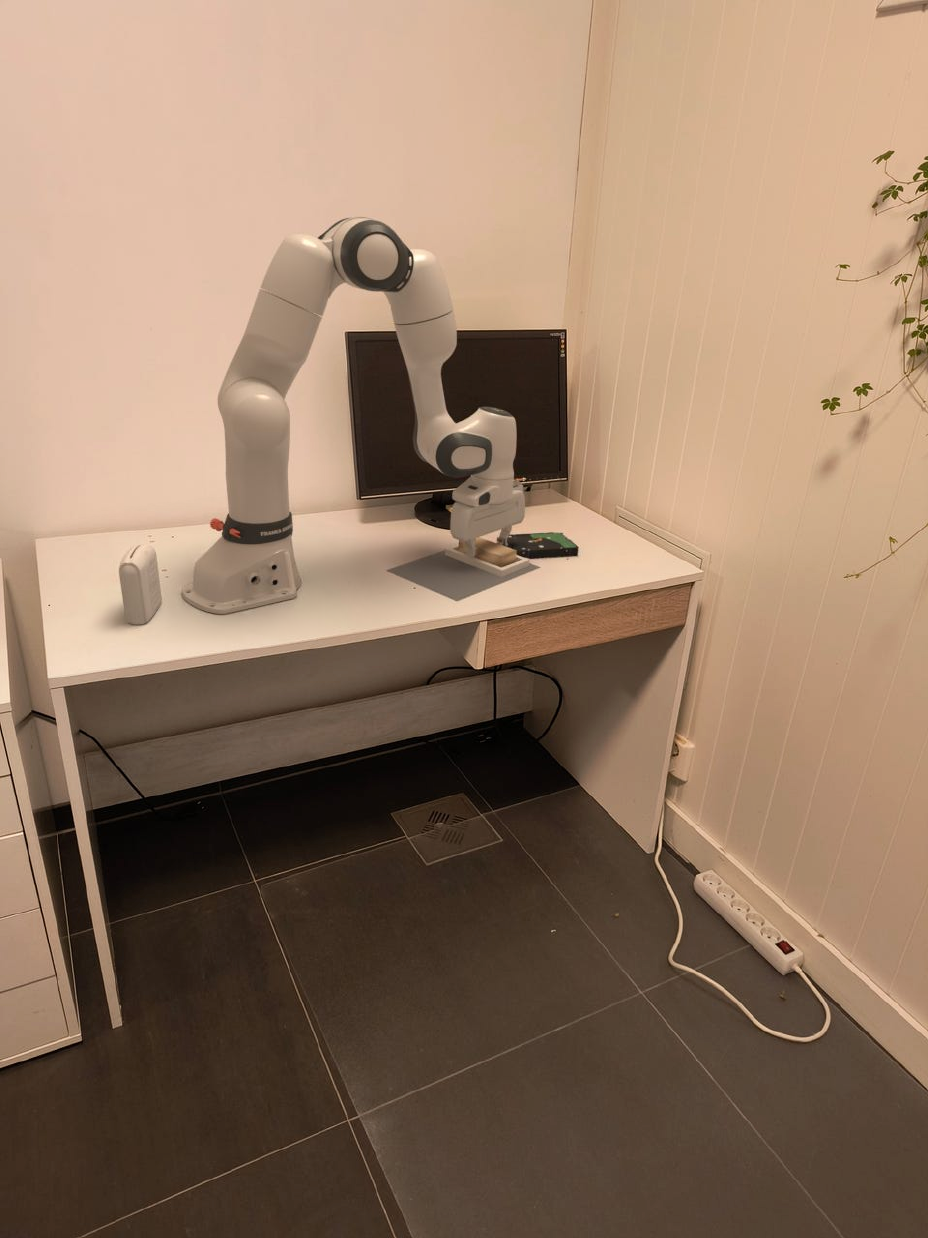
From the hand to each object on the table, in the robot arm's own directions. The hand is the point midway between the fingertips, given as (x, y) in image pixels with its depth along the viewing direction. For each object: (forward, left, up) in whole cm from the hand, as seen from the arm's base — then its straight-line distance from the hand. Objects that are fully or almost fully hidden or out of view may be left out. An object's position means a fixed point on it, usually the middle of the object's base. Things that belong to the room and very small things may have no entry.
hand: (487, 550), depth 171 cm
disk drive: (+15, -3, -3) cm, 16 cm away
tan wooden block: (0, 0, -2) cm, 2 cm away
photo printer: (-65, +24, -3) cm, 69 cm away
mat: (-7, 0, -3) cm, 8 cm away
